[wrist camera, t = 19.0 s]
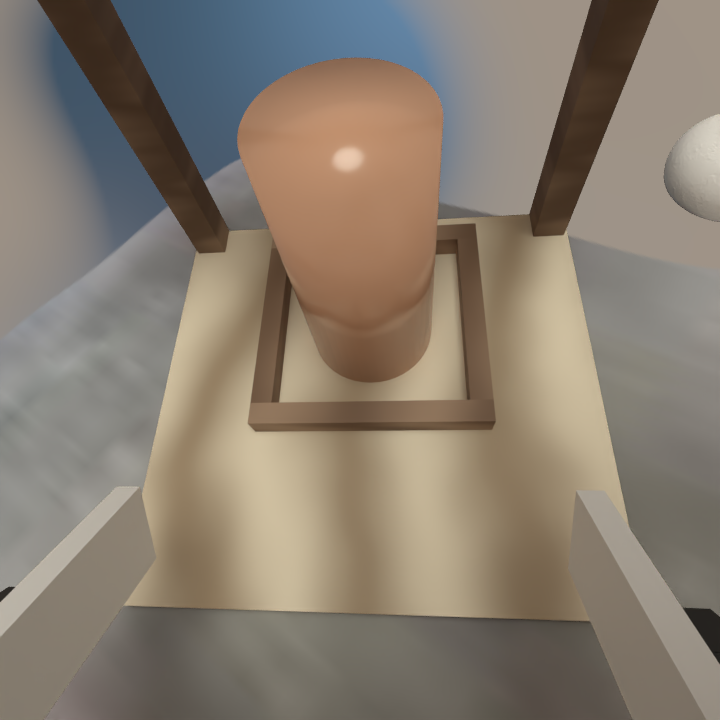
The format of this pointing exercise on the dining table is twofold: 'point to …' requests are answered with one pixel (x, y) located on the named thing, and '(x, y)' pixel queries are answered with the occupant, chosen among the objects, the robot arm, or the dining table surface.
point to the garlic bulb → (696, 170)
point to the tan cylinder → (352, 205)
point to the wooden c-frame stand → (375, 391)
